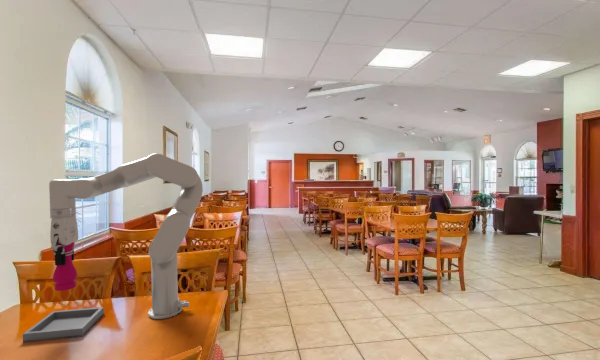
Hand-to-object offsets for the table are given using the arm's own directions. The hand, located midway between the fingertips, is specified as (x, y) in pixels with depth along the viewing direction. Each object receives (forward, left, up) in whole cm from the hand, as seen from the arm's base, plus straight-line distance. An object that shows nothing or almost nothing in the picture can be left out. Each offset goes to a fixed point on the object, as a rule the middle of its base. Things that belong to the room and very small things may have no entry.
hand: (64, 262), depth 118 cm
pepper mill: (0, 0, -10) cm, 10 cm away
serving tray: (0, 0, -24) cm, 24 cm away
